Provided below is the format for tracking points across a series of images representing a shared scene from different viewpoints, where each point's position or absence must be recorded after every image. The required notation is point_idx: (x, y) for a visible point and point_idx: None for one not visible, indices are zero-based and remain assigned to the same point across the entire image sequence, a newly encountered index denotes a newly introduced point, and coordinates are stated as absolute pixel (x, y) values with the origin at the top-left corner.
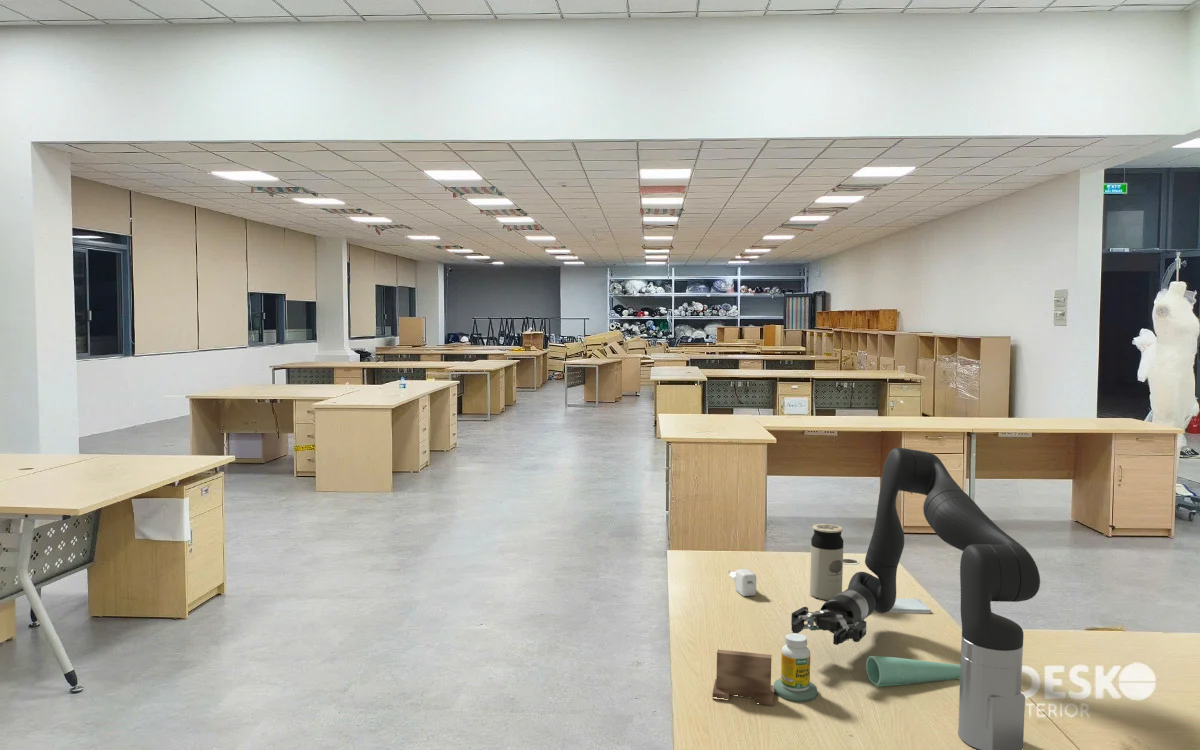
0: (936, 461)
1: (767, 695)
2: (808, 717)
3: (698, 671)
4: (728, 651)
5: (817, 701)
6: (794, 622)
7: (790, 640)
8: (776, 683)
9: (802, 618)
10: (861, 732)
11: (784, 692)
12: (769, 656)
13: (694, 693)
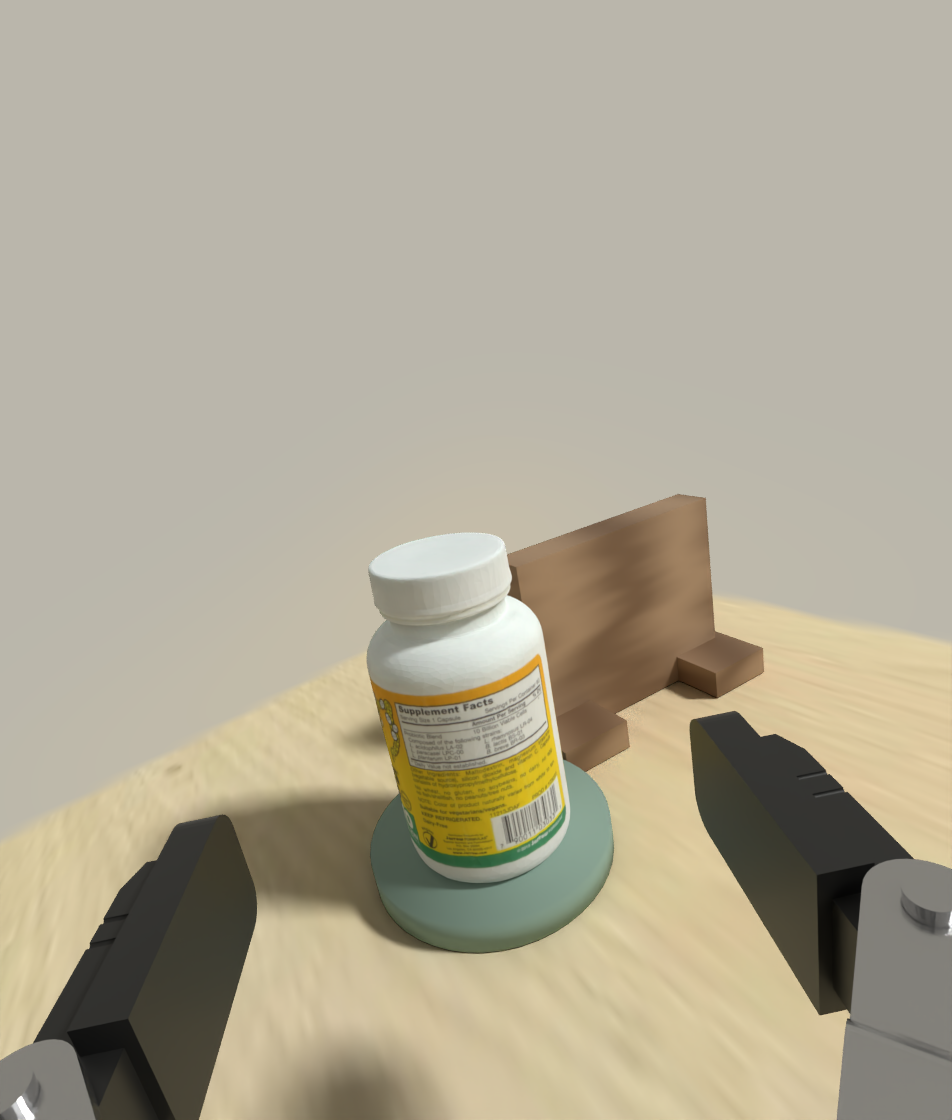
0: None
1: None
2: (343, 750)
3: (944, 682)
4: (663, 509)
5: (355, 855)
6: (745, 724)
7: (443, 537)
8: (580, 783)
9: (864, 893)
10: (132, 803)
11: None
12: (512, 560)
13: (735, 620)
